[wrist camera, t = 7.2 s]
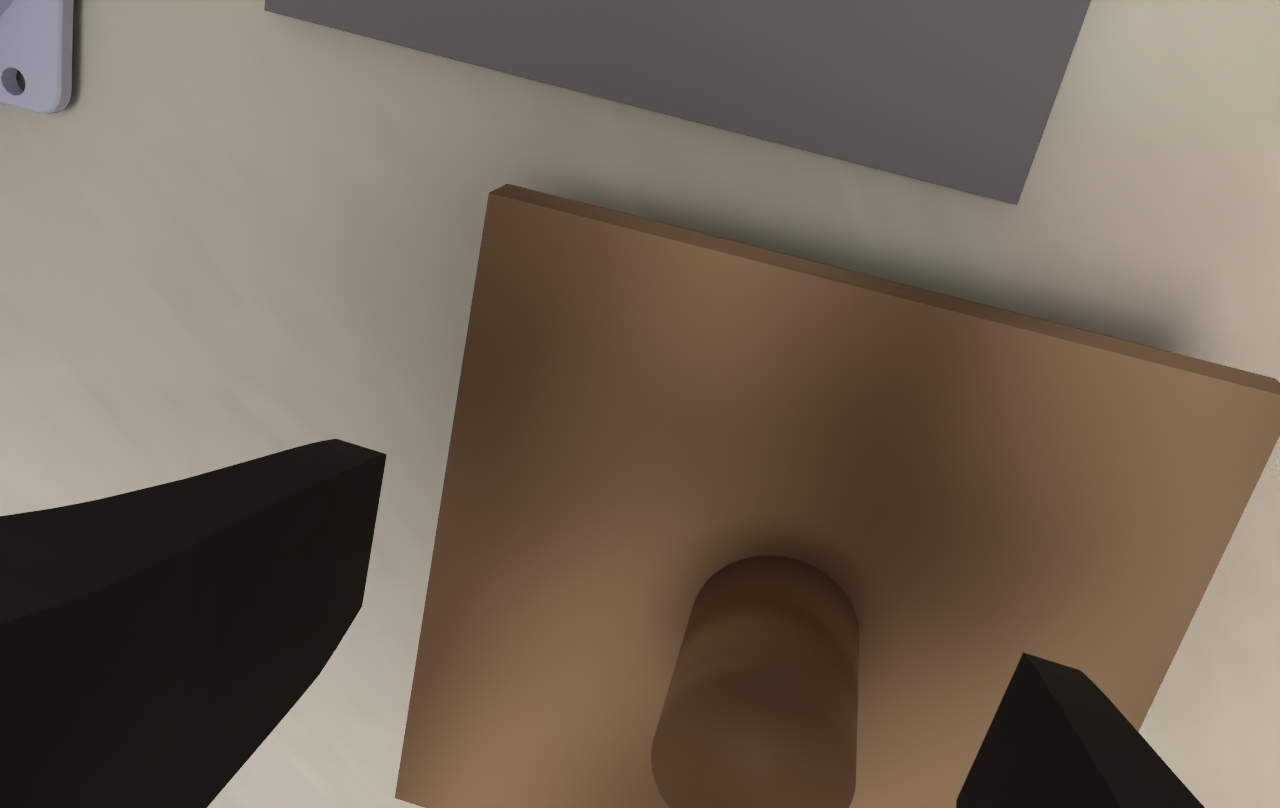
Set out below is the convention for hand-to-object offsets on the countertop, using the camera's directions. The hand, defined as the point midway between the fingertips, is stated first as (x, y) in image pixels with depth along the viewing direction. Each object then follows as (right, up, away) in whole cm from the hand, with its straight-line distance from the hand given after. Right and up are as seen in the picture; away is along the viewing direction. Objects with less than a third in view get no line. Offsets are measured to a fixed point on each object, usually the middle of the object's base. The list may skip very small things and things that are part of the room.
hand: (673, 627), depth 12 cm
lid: (+2, -1, +7) cm, 8 cm away
